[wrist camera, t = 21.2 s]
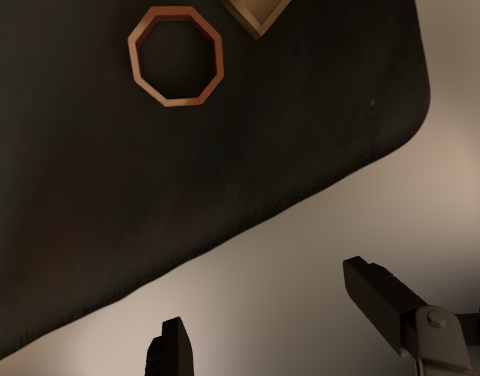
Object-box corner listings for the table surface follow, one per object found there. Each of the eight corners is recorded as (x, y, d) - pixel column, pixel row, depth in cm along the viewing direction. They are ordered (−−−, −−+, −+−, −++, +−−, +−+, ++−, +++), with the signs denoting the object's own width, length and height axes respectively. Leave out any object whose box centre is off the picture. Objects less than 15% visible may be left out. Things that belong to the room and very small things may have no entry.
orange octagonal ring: (115, 63, 33) (110, 61, 30) (169, -8, 32) (169, -18, 29) (185, 121, 37) (185, 123, 34) (235, 59, 36) (240, 56, 33)
